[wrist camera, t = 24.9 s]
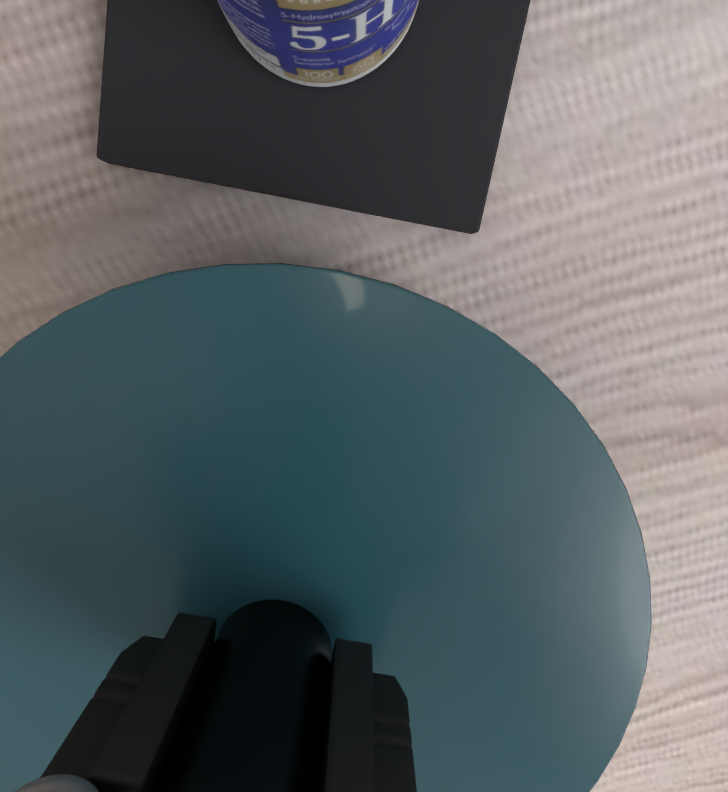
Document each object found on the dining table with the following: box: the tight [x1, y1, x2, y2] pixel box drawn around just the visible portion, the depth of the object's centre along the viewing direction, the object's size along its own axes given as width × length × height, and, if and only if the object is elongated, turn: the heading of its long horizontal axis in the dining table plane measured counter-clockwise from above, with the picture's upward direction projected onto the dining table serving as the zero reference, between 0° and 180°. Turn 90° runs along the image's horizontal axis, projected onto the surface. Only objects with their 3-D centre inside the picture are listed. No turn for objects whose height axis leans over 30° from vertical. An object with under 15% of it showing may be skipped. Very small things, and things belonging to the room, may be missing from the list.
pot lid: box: [0, 263, 652, 792], centre depth 9 cm, size 16×16×6 cm
